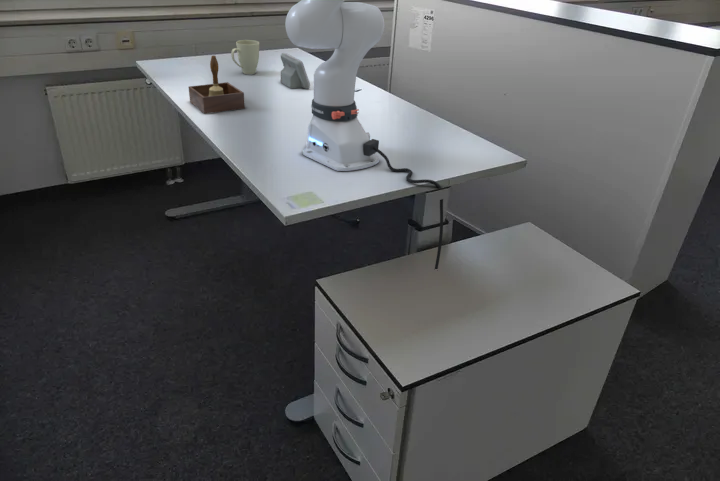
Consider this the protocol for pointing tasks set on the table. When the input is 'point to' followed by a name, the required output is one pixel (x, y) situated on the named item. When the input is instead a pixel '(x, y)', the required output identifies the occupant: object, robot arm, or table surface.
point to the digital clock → (293, 72)
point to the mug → (247, 55)
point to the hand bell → (215, 78)
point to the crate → (216, 98)
